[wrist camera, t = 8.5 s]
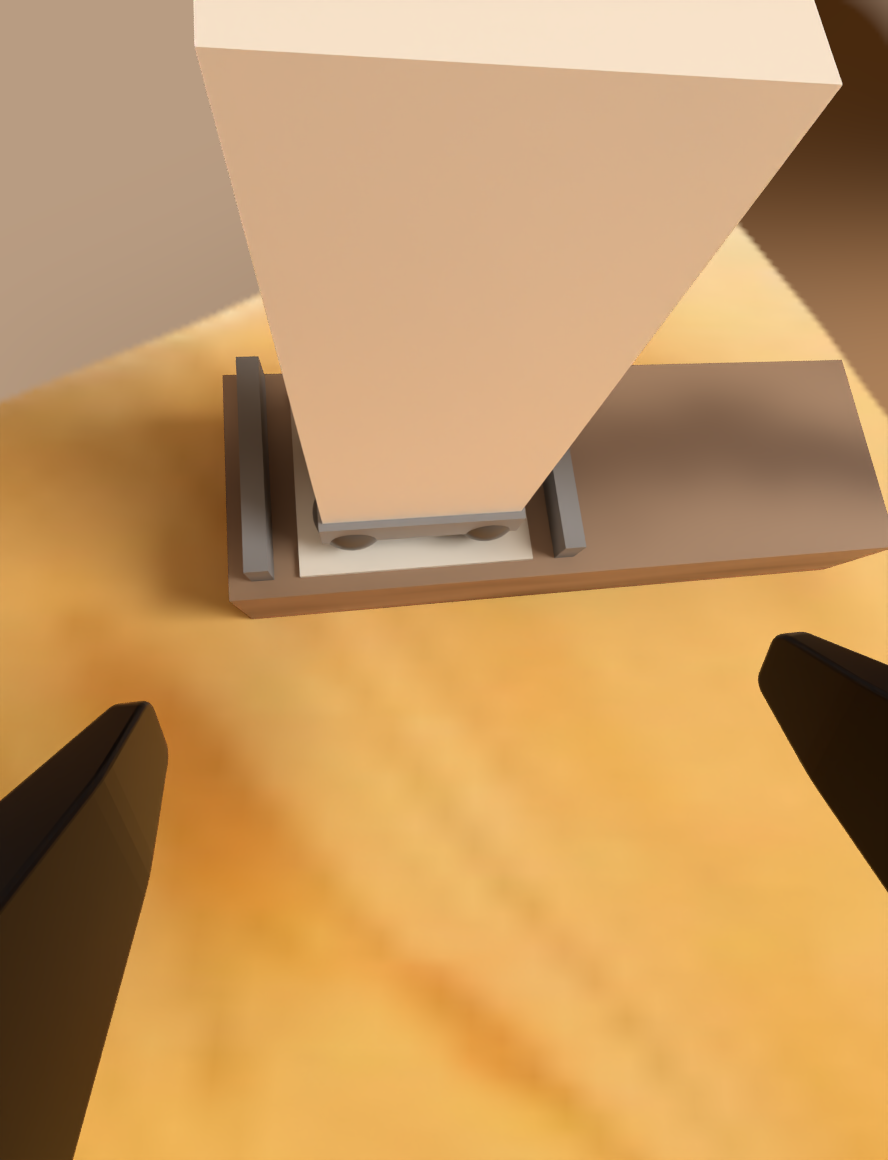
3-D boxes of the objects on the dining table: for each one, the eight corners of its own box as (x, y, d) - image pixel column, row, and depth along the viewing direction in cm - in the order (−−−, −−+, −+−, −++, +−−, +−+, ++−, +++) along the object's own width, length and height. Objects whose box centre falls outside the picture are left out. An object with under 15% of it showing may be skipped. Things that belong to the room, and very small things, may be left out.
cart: (515, 547, 16) (887, 125, 4) (318, 561, 15) (147, 91, 4) (493, 398, 17) (752, -263, 5) (308, 404, 16) (149, -358, 5)
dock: (823, 569, 21) (927, 537, 17) (252, 618, 18) (219, 593, 14) (780, 405, 22) (866, 341, 18) (245, 425, 19) (213, 353, 15)
